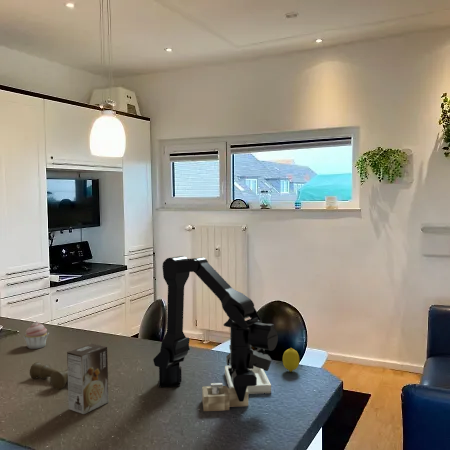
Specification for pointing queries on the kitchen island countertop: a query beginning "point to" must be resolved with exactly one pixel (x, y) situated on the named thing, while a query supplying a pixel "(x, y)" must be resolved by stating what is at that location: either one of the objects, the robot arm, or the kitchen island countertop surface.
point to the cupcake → (36, 336)
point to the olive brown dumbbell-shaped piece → (49, 374)
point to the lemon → (290, 359)
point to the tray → (262, 381)
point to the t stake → (216, 387)
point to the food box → (87, 378)
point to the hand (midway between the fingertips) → (240, 398)
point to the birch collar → (221, 399)
